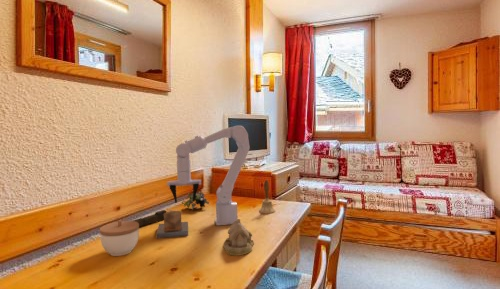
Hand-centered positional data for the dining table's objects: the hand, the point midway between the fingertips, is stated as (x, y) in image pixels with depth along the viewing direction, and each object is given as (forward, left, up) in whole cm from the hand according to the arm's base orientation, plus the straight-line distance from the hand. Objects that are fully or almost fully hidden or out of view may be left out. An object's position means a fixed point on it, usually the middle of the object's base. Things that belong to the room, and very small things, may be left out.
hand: (185, 201), depth 133 cm
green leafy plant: (-5, -25, -11) cm, 28 cm away
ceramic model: (-19, +30, -11) cm, 37 cm away
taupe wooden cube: (+5, +8, -8) cm, 13 cm away
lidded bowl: (+22, +24, -11) cm, 34 cm away
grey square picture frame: (+5, +8, -10) cm, 14 cm away
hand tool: (+16, -7, -11) cm, 21 cm away
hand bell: (-40, -11, -11) cm, 43 cm away
